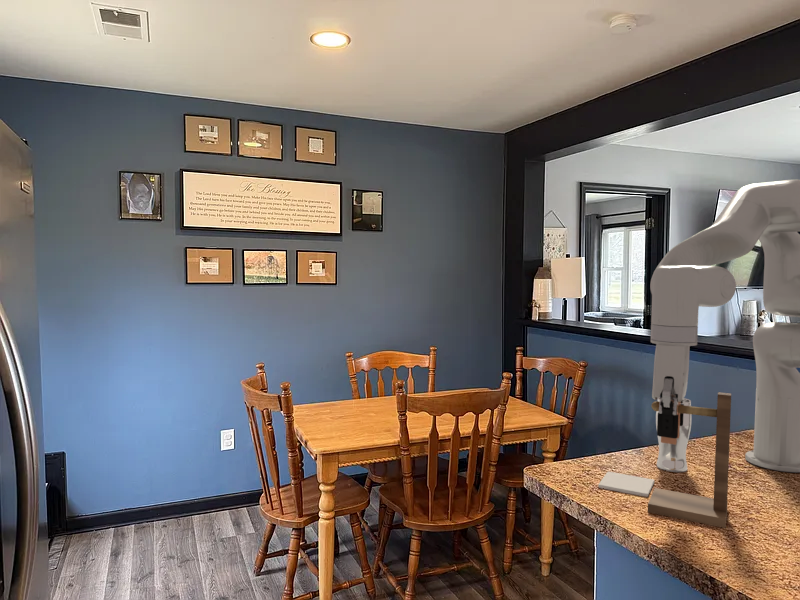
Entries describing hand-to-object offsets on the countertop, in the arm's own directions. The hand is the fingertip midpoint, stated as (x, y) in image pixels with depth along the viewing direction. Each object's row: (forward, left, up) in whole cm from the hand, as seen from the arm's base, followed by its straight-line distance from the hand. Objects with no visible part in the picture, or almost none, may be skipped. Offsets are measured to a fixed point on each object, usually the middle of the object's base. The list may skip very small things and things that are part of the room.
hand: (670, 430), depth 104 cm
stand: (0, +3, -14) cm, 14 cm away
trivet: (-8, -8, -14) cm, 18 cm away
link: (0, 0, -2) cm, 2 cm away
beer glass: (-24, -2, -14) cm, 28 cm away
